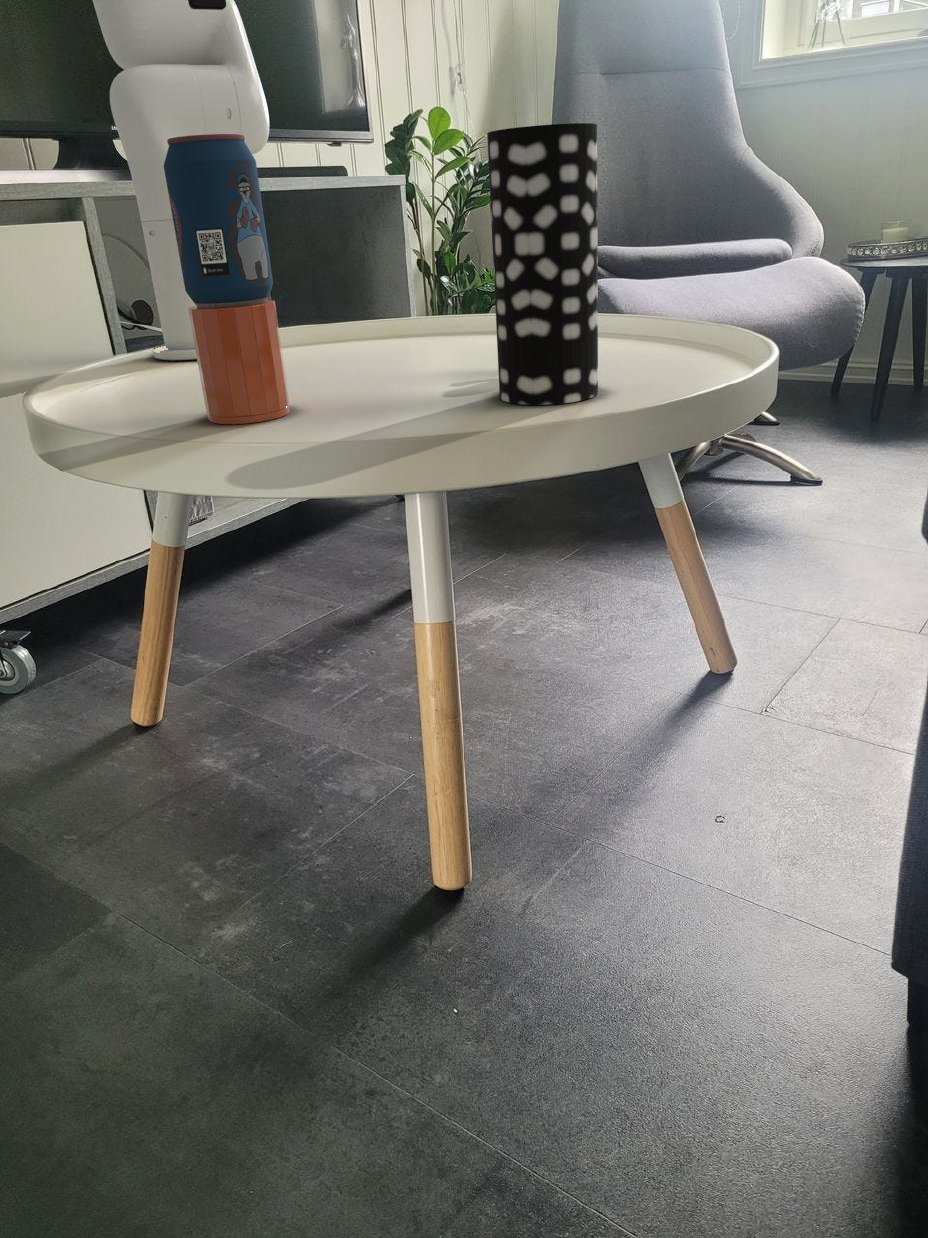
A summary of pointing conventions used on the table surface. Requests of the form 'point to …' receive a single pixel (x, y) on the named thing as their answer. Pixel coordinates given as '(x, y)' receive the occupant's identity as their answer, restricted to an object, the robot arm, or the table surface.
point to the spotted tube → (545, 261)
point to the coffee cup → (240, 362)
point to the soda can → (218, 220)
